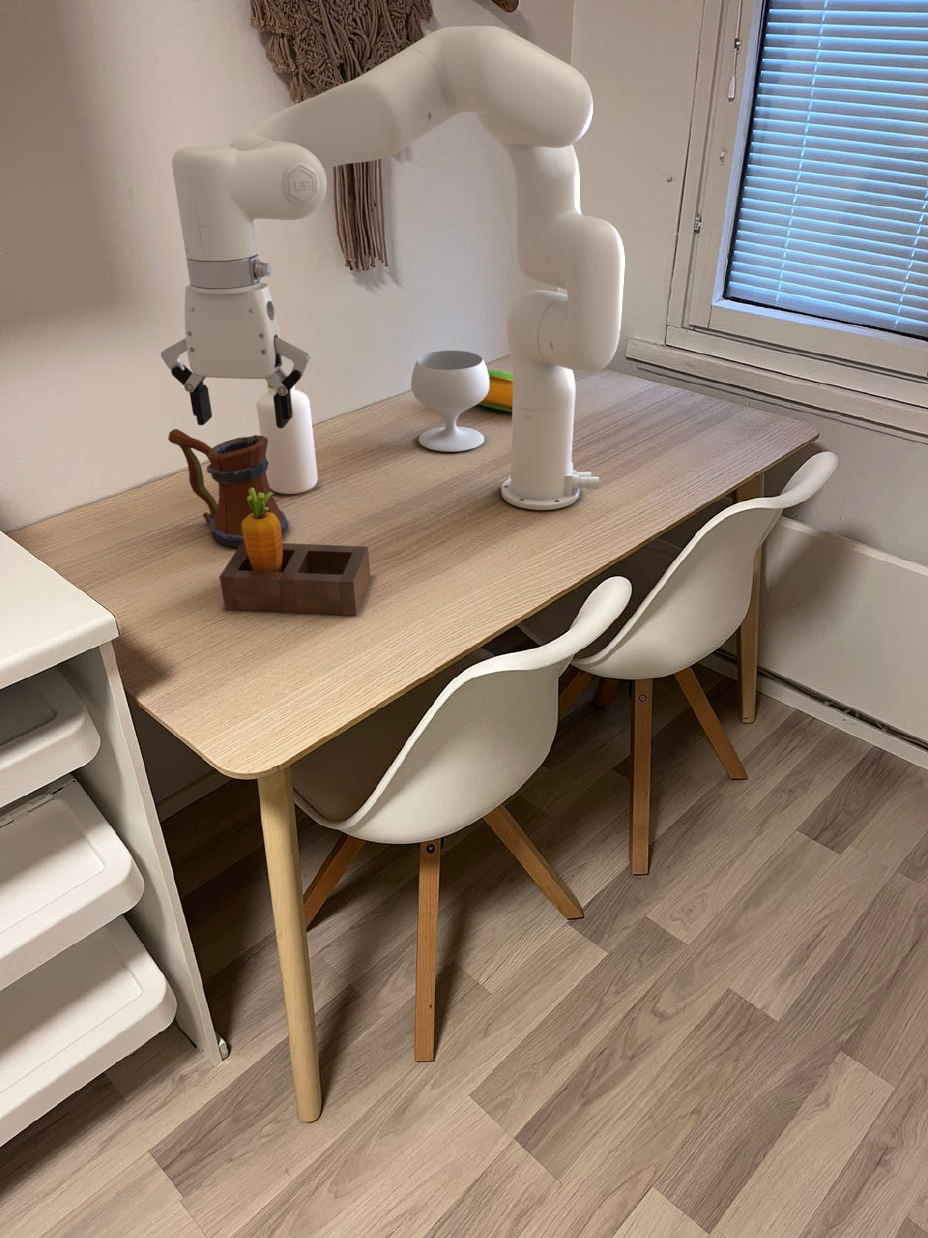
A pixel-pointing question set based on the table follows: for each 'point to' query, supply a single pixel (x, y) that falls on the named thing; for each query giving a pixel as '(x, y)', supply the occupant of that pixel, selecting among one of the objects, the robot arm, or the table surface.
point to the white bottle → (288, 444)
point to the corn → (499, 391)
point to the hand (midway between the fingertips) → (244, 422)
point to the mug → (230, 482)
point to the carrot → (262, 535)
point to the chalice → (450, 395)
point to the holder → (300, 581)
